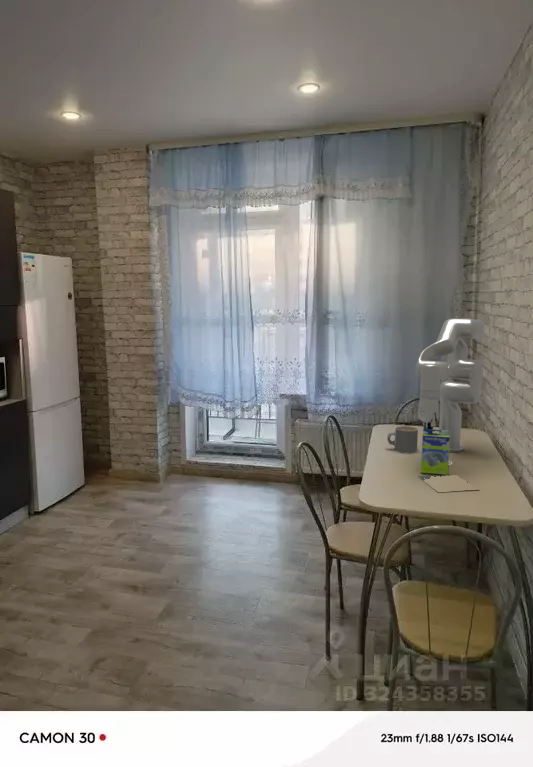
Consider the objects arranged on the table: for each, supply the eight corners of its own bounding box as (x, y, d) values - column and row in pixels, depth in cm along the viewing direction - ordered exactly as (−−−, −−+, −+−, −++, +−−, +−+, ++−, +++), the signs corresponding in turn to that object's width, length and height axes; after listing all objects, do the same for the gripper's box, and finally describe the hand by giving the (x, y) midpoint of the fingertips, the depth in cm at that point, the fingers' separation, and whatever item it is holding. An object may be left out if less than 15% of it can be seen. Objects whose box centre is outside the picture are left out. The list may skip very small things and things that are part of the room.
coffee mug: (417, 447, 244) (418, 426, 242) (416, 453, 235) (417, 432, 233) (388, 445, 248) (389, 424, 247) (386, 450, 239) (386, 429, 237)
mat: (418, 476, 204) (418, 476, 204) (456, 474, 206) (456, 474, 206) (437, 492, 188) (437, 492, 188) (479, 490, 190) (479, 489, 190)
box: (420, 473, 208) (422, 430, 207) (420, 470, 212) (422, 428, 211) (448, 475, 205) (450, 431, 204) (447, 472, 209) (449, 430, 208)
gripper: (413, 391, 217) (411, 433, 220) (428, 397, 203) (426, 443, 206) (430, 390, 218) (428, 433, 221) (447, 397, 204) (444, 442, 207)
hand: (427, 437), depth 213 cm, fingers closed
